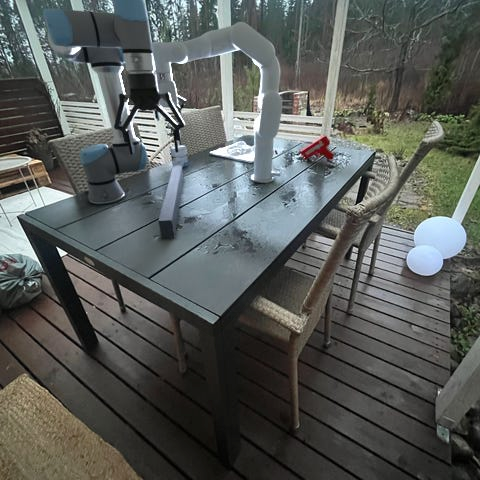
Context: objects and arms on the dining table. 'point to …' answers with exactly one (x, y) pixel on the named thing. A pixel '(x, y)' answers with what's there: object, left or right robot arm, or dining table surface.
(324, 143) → the toy gun
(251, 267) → the dining table surface
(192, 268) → the dining table surface
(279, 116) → the right robot arm
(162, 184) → the dining table surface
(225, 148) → the relief map
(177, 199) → the bar
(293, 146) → the dining table surface
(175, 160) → the ink box
